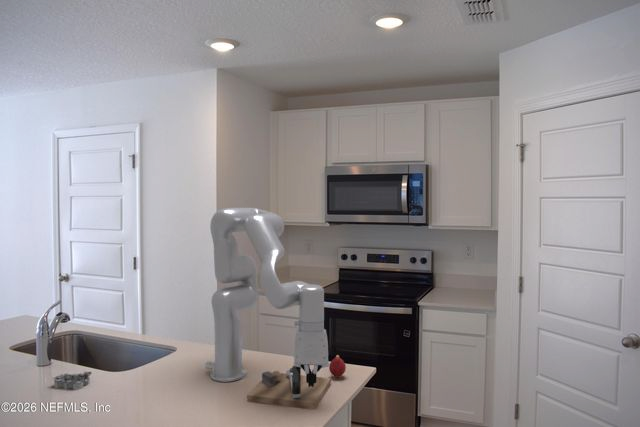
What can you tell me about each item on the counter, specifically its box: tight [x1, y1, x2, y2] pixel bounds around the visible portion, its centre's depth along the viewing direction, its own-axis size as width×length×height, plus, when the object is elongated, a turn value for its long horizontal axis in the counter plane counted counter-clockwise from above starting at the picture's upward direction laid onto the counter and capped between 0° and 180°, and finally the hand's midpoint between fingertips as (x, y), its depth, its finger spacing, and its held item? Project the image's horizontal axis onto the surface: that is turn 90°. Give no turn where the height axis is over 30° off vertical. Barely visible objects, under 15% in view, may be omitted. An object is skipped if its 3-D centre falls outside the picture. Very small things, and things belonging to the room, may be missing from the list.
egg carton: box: [52, 371, 92, 391], centre depth 157 cm, size 11×8×4 cm
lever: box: [285, 365, 302, 398], centre depth 152 cm, size 20×4×9 cm, turn 7°
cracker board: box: [246, 370, 332, 410], centre depth 152 cm, size 22×20×6 cm
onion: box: [328, 354, 347, 379], centre depth 164 cm, size 6×6×8 cm
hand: (311, 385), depth 143 cm, fingers closed
